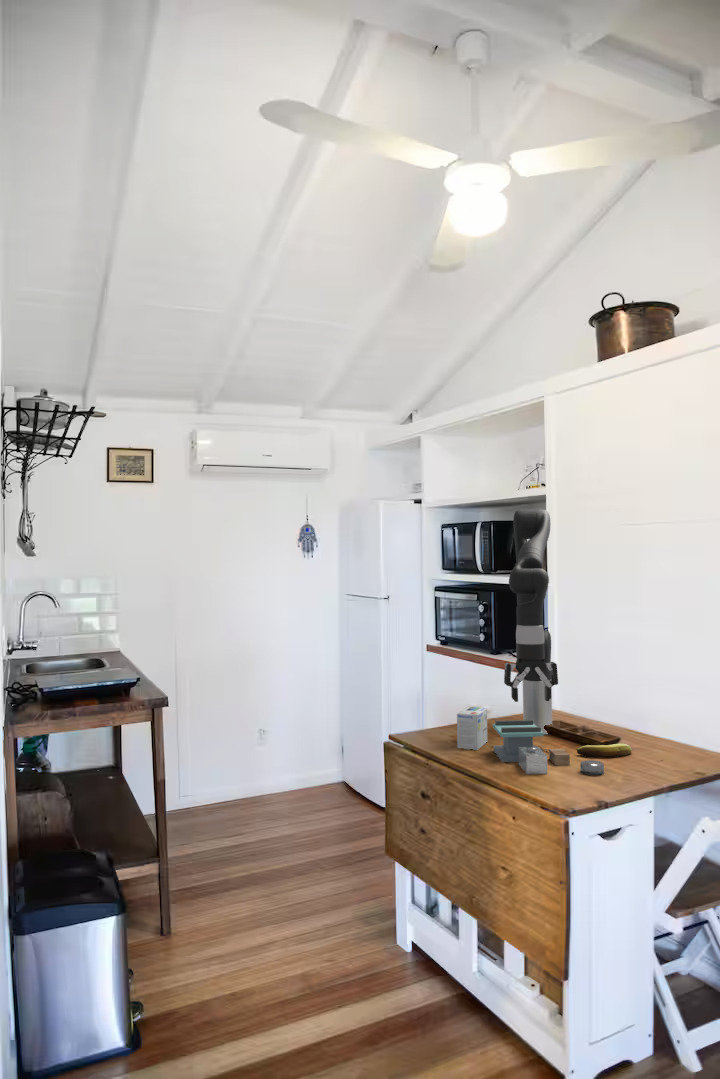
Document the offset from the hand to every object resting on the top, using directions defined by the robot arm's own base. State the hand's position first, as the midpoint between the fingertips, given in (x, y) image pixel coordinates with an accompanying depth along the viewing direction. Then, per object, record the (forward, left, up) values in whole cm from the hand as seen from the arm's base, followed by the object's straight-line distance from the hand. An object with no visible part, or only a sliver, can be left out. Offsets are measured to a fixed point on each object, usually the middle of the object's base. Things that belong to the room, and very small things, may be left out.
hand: (531, 701), depth 201 cm
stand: (-13, -1, -18) cm, 23 cm away
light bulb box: (-26, -12, -19) cm, 34 cm away
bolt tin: (+4, +15, -19) cm, 24 cm away
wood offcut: (-6, +9, -19) cm, 21 cm away
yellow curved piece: (-13, +25, -19) cm, 34 cm away
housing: (0, 0, -19) cm, 19 cm away
